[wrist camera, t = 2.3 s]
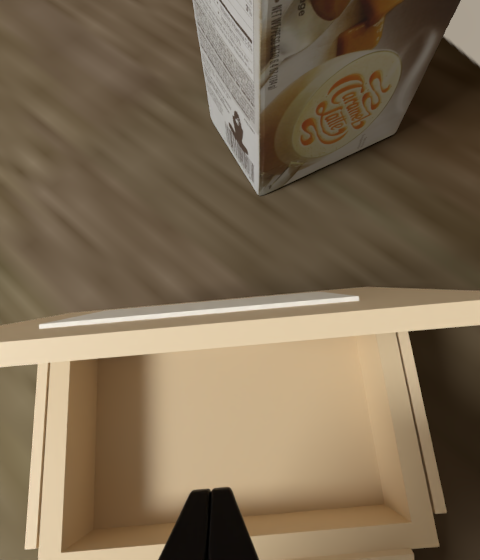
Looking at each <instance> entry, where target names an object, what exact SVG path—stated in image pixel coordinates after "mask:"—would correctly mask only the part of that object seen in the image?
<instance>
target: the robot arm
mask: <svg viewBox="0 0 480 560" xmlns="http://www.w3.org/2000/svg"><path fill="white" fill-rule="evenodd" d="M158 560H259V558H258V555H257V553H256V550H255V548H254V545H253V542H252V540H251V537H250V535H249V532H248V530H247V527H246V525H245V522H244V519H243V517H242V514H241V512H240V509H239V507H238V504H237V502H236V499H235V496H234V494H233V491H232V489H231V488H230V487H219V488H214V489H212V491H211V490H210V489H196V490H193V491H191V492H190V494H189V496H188V498H187V500H186V502H185V504H184V506H183V508H182V510H181V513H180V515H179V517H178V519H177V521H176V523H175V525H174V527H173V529H172V532H171V534H170V536H169V538H168V540H167V542H166V544H165V546H164V548H163V550H162V553H161V555H160V557H159V559H158Z"/></svg>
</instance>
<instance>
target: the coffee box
mask: <svg viewBox="0 0 480 560" xmlns="http://www.w3.org/2000/svg"><path fill="white" fill-rule="evenodd" d="M459 3H460V0H193V6H194V12H195V19H196V26H197V32H198V39H199V44H200V50H201V57H202V64H203V71H204V76H205V81H206V89H207V95H208V103H209V109H210V116H211V119H212V121H213V123H214V125H215V127H216V128H217V130H218V131H219V133H220V135H221V136H222V138H223V139H224V141H225V143H226V144H227V146H228V147H229V149H230V151H231V152H232V154H233V156H234V157H235V159H236V160H237V162H238V164H239V165H240V167H241V169H242V170H243V172H244V173H245V175H246V177H247V178H248V180H249V181H250V183H251V184H252V186H253V188H254V189H255V191H256V192H257V194H258V195H260V196H261V195H264V194H267V193H269V192H271V191H274V190H276V189H278V188H280V187H282V186H284V185H287V184H289V183H291V182H293V181H295V180H297V179H299V178H302V177H304V176H306V175H308V174H310V173H312V172H314V171H316V170H318V169H321V168H323V167H325V166H327V165H329V164H331V163H334V162H336V161H338V160H340V159H342V158H344V157H346V156H348V155H351V154H353V153H355V152H357V151H359V150H361V149H363V148H365V147H367V146H370V145H372V144H374V143H376V142H378V141H380V140H382V139H385V138H387V137H389V136H391V135H393V134H395V132H396V131H397V129H398V127H399V124H400V123H401V121H402V119H403V117H404V115H405V113H406V110H407V108H408V106H409V104H410V102H411V100H412V98H413V96H414V95H415V92H416V90H417V88H418V86H419V84H420V82H421V80H422V78H423V76H424V74H425V72H426V70H427V67H428V65H429V63H430V61H431V59H432V58H433V55H434V53H435V51H436V49H437V47H438V45H439V43H440V41H441V39H442V37H443V35H444V33H445V30H446V28H447V27H448V25H449V23H450V20H451V18H452V17H453V15H454V13H455V11H456V9H457V6H458V5H459Z"/></svg>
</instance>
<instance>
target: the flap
mask: <svg viewBox="0 0 480 560" xmlns="http://www.w3.org/2000/svg"><path fill="white" fill-rule="evenodd" d="M473 325H480V291H472V290H443V289H415V288H387V287H357V288H346V289H335V290H323V291H312V292H301V293H289V294H278V295H267V296H255V297H244V298H233V299H221V300H210V301H199V302H187V303H176V304H165V305H153V306H142V307H131V308H119V309H108V310H97V311H85V312H74V313H67V314H62V315H56V316H50V317H45V318H39V319H34V320H28V321H23V322H17V323H11V324H6V325H0V367H7V366H18V365H30V364H41V363H52V362H64V361H75V360H87V359H98V358H109V357H121V356H132V355H143V354H155V353H166V352H178V351H189V350H200V349H212V348H223V347H234V346H246V345H257V344H269V343H280V342H291V341H303V340H314V339H325V338H337V337H348V336H360V335H371V334H382V333H394V332H405V331H416V330H428V329H439V328H451V327H462V326H473Z"/></svg>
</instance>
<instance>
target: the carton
mask: <svg viewBox="0 0 480 560" xmlns="http://www.w3.org/2000/svg"><path fill="white" fill-rule="evenodd" d="M219 487H230V488H231V489H232V491H233V494H234V496H235V499H236V502H237V504H238V507H239V509H240V512H241V514H242V517H243V519H244V522H245V525H246V527H247V530H248V532H249V535H250V537H251V540H252V542H253V545H254V548H255V550H256V553H257V555H258V558H259V560H414V553H413V552H412V550H411V549H419V548H431V547H440V546H439V541H438V537H437V532H436V527H435V522H434V517H433V513H435V514H441V513H447V511H446V506H445V501H444V497H443V492H442V487H441V483H440V478H439V473H438V469H437V464H436V459H435V455H434V450H433V445H432V441H431V436H430V432H429V427H428V422H427V418H426V413H425V408H424V404H423V399H422V394H421V390H420V385H419V380H418V376H417V371H416V366H415V362H414V357H413V352H412V348H411V343H410V339H409V334H408V331H405V332H394V333H382V334H371V335H360V336H348V337H337V338H325V339H314V340H303V341H291V342H280V343H269V344H257V345H246V346H234V347H223V348H212V349H200V350H189V351H178V352H166V353H155V354H143V355H132V356H121V357H109V358H98V359H87V360H75V361H64V362H52V363H41V364H38V372H37V385H36V399H35V413H34V427H33V441H32V455H31V469H30V483H29V497H28V511H27V525H26V539H25V550H26V549H36V548H38V547H39V552H38V560H158V559H159V557H160V555H161V553H162V550H163V548H164V546H165V544H166V542H167V540H168V538H169V536H170V534H171V532H172V529H173V527H174V525H175V523H176V521H177V519H178V517H179V515H180V513H181V510H182V508H183V506H184V504H185V502H186V500H187V498H188V496H189V494H190V492H191V491H193V490H196V489H210V490H211V491H212V489H214V488H219Z"/></svg>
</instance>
